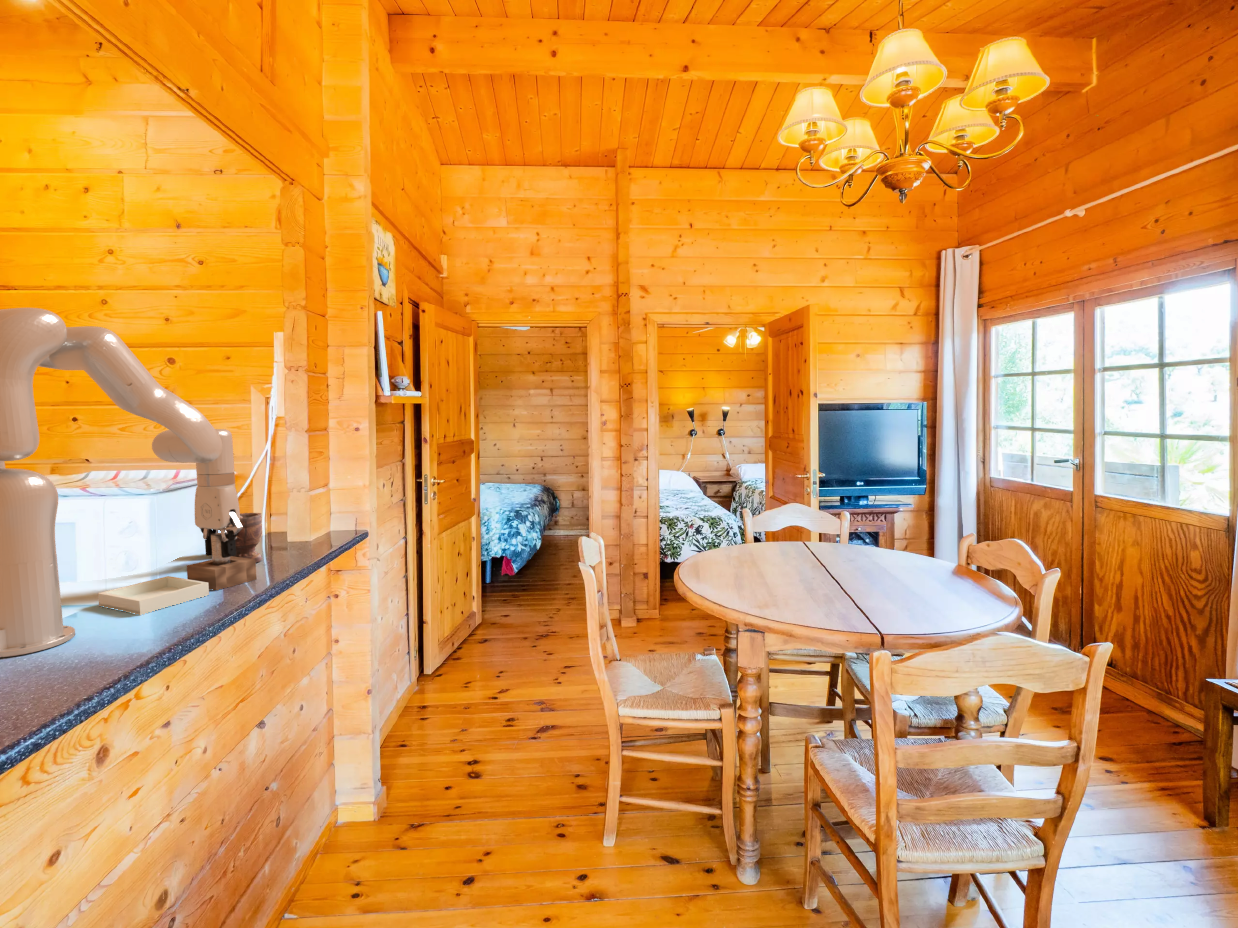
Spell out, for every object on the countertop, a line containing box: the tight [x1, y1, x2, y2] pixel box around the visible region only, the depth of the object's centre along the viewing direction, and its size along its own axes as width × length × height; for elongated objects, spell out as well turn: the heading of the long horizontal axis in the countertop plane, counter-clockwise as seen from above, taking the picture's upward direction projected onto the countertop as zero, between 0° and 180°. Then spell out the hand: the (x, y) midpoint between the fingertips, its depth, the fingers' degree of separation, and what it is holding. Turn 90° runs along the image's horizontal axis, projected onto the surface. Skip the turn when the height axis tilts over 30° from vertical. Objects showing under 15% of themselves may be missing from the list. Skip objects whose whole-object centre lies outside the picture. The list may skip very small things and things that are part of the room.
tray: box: [97, 575, 210, 616], centre depth 131 cm, size 14×14×3 cm
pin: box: [211, 533, 231, 566], centre depth 145 cm, size 4×4×12 cm
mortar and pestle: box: [225, 512, 263, 563], centre depth 162 cm, size 12×9×20 cm
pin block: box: [186, 556, 257, 591], centre depth 145 cm, size 10×10×5 cm
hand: (221, 554), depth 145 cm, fingers open, 4 cm apart
